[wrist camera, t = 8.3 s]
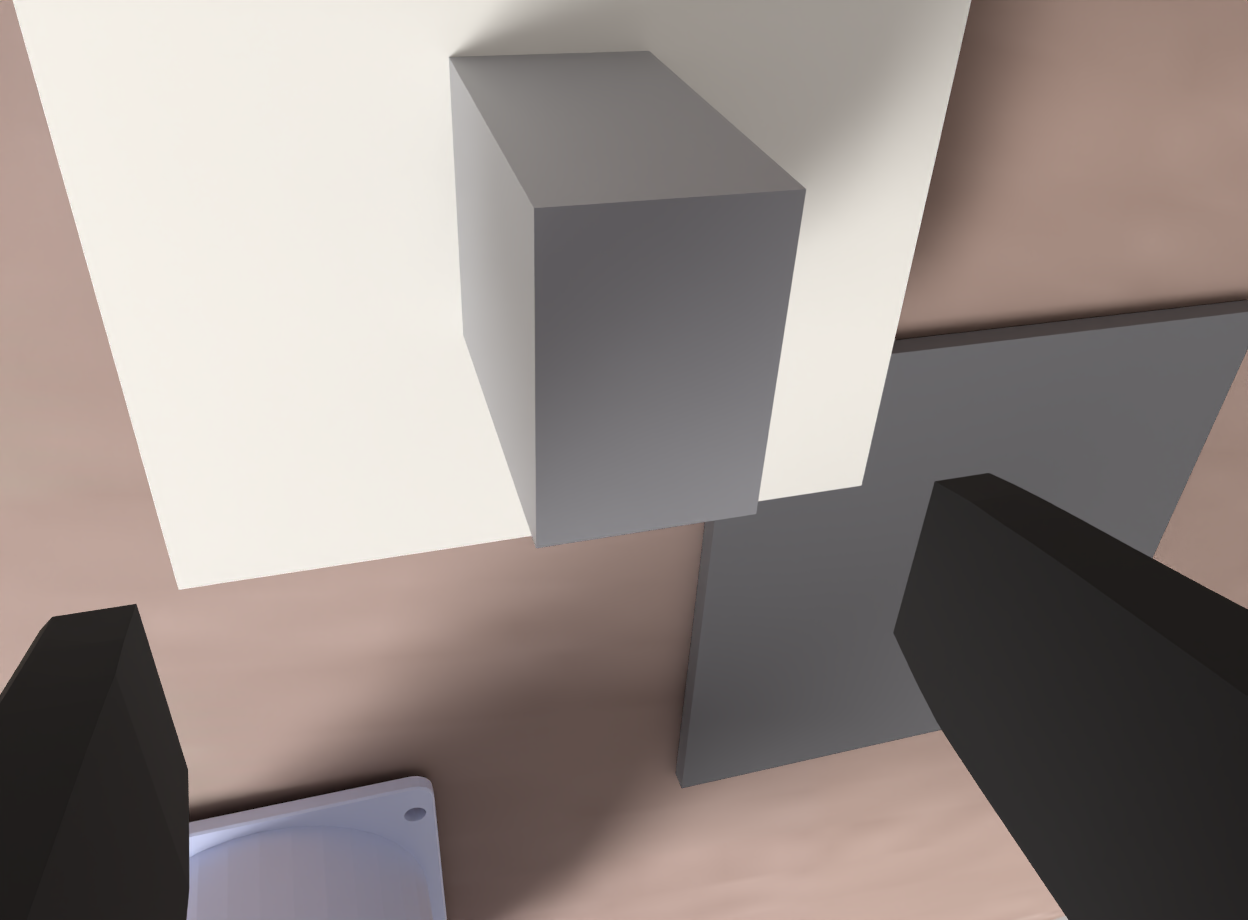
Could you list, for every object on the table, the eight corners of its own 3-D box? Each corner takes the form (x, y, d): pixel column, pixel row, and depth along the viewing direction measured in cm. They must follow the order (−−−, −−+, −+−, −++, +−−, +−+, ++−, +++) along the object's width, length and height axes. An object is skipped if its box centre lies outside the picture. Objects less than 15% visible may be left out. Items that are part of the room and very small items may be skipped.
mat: (1078, 684, 31) (1088, 696, 31) (675, 773, 28) (681, 788, 28) (1249, 299, 24) (1265, 309, 23) (724, 359, 20) (732, 372, 20)
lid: (845, 465, 18) (1011, 677, 14) (180, 563, 15) (158, 860, 11) (1011, -312, 12) (1395, -316, 8) (-81, -389, 9) (-335, -456, 5)
